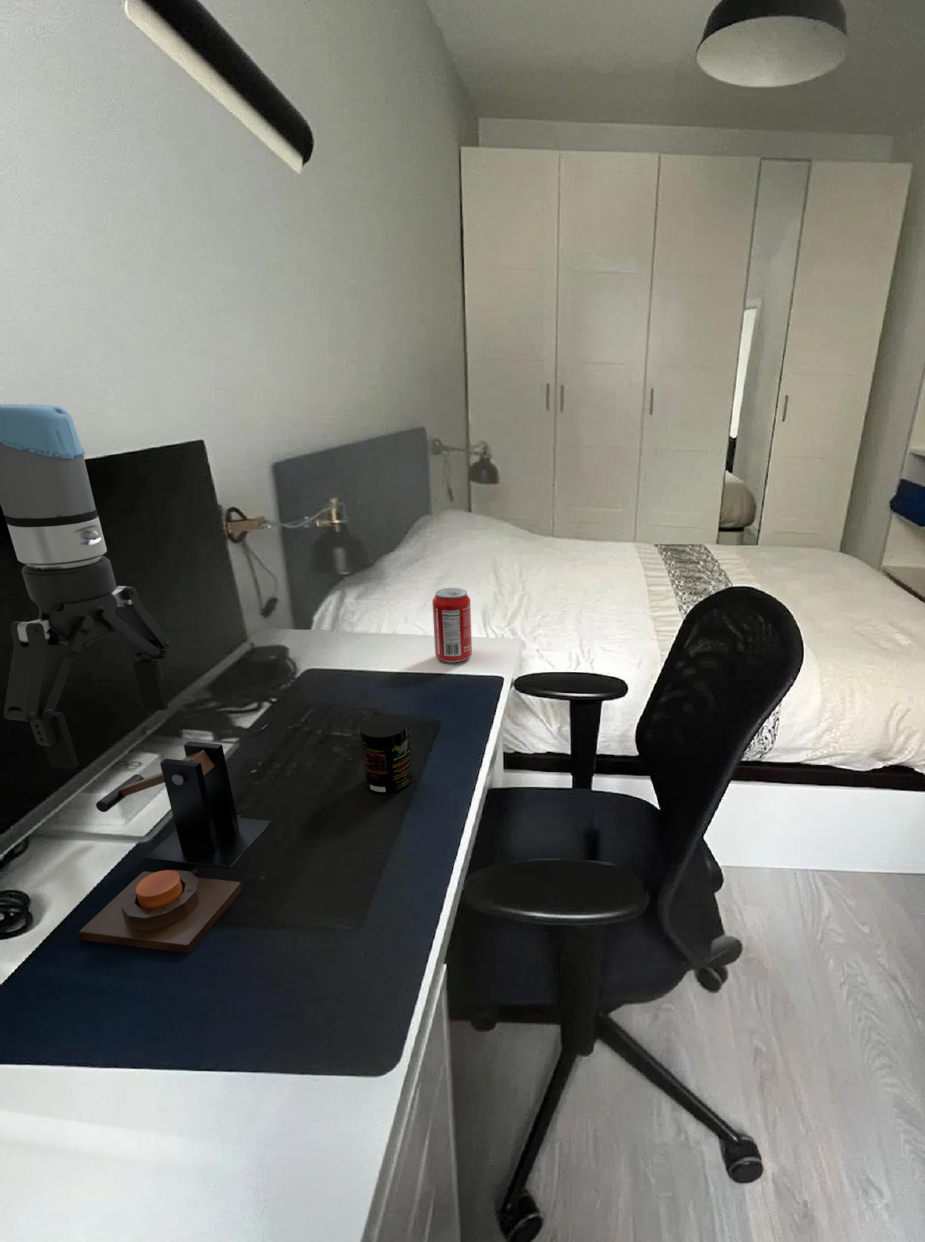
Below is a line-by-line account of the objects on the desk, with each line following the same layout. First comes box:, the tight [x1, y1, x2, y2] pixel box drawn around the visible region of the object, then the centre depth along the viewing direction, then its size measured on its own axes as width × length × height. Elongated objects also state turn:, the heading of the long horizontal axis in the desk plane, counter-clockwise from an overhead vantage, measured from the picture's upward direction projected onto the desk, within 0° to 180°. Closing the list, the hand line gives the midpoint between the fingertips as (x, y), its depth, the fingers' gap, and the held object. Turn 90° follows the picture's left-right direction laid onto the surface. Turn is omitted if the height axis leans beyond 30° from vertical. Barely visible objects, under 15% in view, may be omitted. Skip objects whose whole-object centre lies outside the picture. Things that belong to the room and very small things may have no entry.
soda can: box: [431, 587, 473, 664], centre depth 137 cm, size 8×8×15 cm
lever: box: [95, 750, 215, 813], centre depth 79 cm, size 14×6×2 cm, turn 84°
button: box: [136, 869, 183, 909], centre depth 69 cm, size 4×4×2 cm
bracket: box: [144, 740, 272, 869], centre depth 80 cm, size 11×9×14 cm
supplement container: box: [359, 713, 414, 795], centre depth 94 cm, size 7×7×10 cm
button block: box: [78, 869, 243, 954], centre depth 70 cm, size 12×9×4 cm
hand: (114, 734), depth 76 cm, fingers open, 13 cm apart
